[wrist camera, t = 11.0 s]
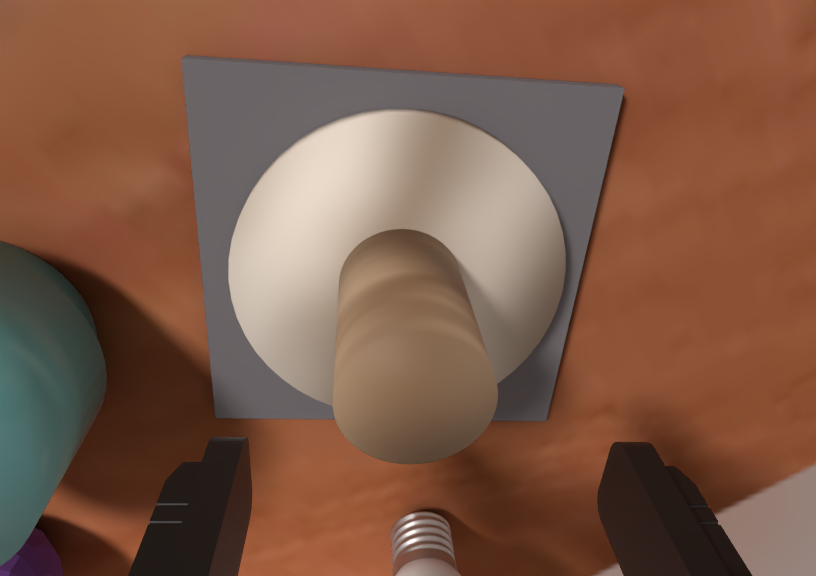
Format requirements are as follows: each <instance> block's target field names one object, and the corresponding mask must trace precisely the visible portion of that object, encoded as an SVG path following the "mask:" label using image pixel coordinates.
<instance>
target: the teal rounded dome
mask: <svg viewBox="0 0 816 576" xmlns="http://www.w3.org/2000/svg"><path fill="white" fill-rule="evenodd" d="M106 385H107V373H106V364H105V360H104V356H103V352H102V349H101V346H100V344H99V342H98V339H97V330H96V326H95V323H94V319H93V317H92V314H91V312H90V310H89V307H88V306H87V304H86V302H85V301H84V299H83V298H82V296H81V295H80V293H79V292H78V291H77V290H76V288H75V287H74V286H73V285H72V284H71V283H70V282H69V281H68V280H67V279H66V278H65V277H64V276H63V275H62V274H61V273H60V272H58V271H57V270H56V269H55V268H54V267H52V266H51V265H49V264H48V263H46V262H45V261H43V260H42V259H40V258H39V257H37V256H35V255H33V254H31V253H29V252H28V251H26V250H23V249H21V248H19V247H16V246H14V245H11V244H8V243H5V242H2V241H0V566H1V565H3V564H4V563H5V562H7V561H8V560H10V559H11V558H12V557H13V556H14V555H15V554H16V553H17V552H18V551H19V550H20V549H21V548H22V546H23V545H24V543H25V542H26V540H27V539H28V538H29V536H30V534H31V533H32V531H33V529H34V527H35V525H36V524H37V522H38V520H39V518H40V517H41V515H42V513H43V511H44V510H45V508H46V506H47V504H48V503H49V501H50V499H51V497H52V495H53V494H54V492H55V490H56V488H57V487H58V485H59V483H60V481H61V480H62V478H63V476H64V474H65V472H66V471H67V469H68V467H69V465H70V464H71V462H72V460H73V458H74V457H75V455H76V453H77V451H78V449H79V448H80V446H81V444H82V442H83V441H84V439H85V437H86V435H87V434H88V432H89V430H90V428H91V426H92V425H93V423H94V421H95V419H96V418H97V416H98V414H99V411H100V409H101V407H102V405H103V402H104V398H105V393H106Z"/></svg>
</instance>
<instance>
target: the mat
mask: <svg viewBox="0 0 816 576" xmlns="http://www.w3.org/2000/svg"><path fill="white" fill-rule="evenodd" d="M181 59H182V70H183V80H184V91H185V102H186V112H187V123H188V133H189V144H190V155H191V165H192V176H193V186H194V197H195V208H196V218H197V229H198V240H199V250H200V261H201V271H202V282H203V293H204V303H205V314H206V324H207V335H208V346H209V356H210V367H211V377H212V388H213V399H214V409H215V418H249V419H335V416H334V412H333V406H331V405H328V404H326V403H323V402H321V401H318V400H316V399H314V398H312V397H310V396H308V395H306V394H304V393H302V392H301V391H299V390H297V389H296V388H294V387H293V386H291V385H290V384H289V383H287V382H286V381H284V380H283V379H282V378H281V377H279V376H278V375H277V374H276V373H275V372H274V371H273V370H272V369H271V368H269V367H268V366H267V364H266V363H265V362H264V361H263V360H262V359H261V357H260V356H259V355H258V354H257V353H256V352H255V350H254V348H253V347H252V345H251V344H250V342H249V341H248V339H247V338H246V336H245V334H244V332H243V330H242V328H241V326H240V324H239V321H238V319H237V317H236V313H235V310H234V307H233V303H232V300H231V294H230V287H229V280H228V270H229V254H230V247H231V241H232V237H233V234H234V231H235V227H236V224H237V221H238V218H239V216H240V214H241V212H242V209H243V207H244V205H245V203H246V201H247V199H248V197H249V195H250V193H251V191H252V189H253V187H254V186H255V184H256V183H257V181H258V180H259V178H260V177H261V176H262V174H263V173H264V171H265V170H266V169H267V168H268V167H269V166H270V165H271V163H272V162H273V161H274V160H275V159H276V158H277V157H278V156H279V155H280V154H281V153H282V152H283V151H285V150H286V149H287V148H288V147H289V146H291V145H292V144H293V143H294V142H296V141H297V140H298V139H300V138H301V137H303V136H305V135H306V134H308V133H310V132H311V131H313V130H315V129H316V128H318V127H320V126H322V125H325V124H327V123H329V122H332V121H334V120H336V119H339V118H342V117H345V116H349V115H352V114H356V113H359V112H363V111H370V110H377V109H384V108H415V109H423V110H430V111H436V112H440V113H444V114H447V115H451V116H455V117H458V118H460V119H463V120H465V121H467V122H470V123H472V124H474V125H477V126H479V127H480V128H482V129H484V130H485V131H487V132H489V133H490V134H492V135H494V136H495V137H497V138H498V139H500V140H501V141H502V142H503V143H504V144H506V145H507V146H508V147H509V148H511V149H512V150H513V151H514V152H515V153H516V154H517V155H518V156H519V157H520V158H521V159H522V161H523V162H524V163H525V164H526V165H527V166H528V167H529V168H530V170H531V171H532V172H533V173H534V174H535V176H536V177H537V178H538V180H539V181H540V183H541V184H542V186H543V187H544V189H545V190H546V192H547V193H548V195H549V197H550V199H551V201H552V203H553V206H554V208H555V210H556V212H557V214H558V218H559V221H560V225H561V228H562V231H563V237H564V244H565V251H566V272H565V278H564V285H563V291H562V294H561V298H560V301H559V304H558V308H557V310H556V313H555V315H554V317H553V319H552V322H551V324H550V326H549V328H548V329H547V331H546V333H545V334H544V336H543V337H542V339H541V341H540V342H539V344H538V345H537V346H536V347H535V349H534V350H533V351H532V352H531V354H530V355H529V356H528V357H527V358H526V359H525V360H524V361H523V362H522V363H521V364H520V365H519V366H518V367H517V368H516V369H515V370H514V371H513V372H512V373H511V374H509V375H508V376H507V377H505V378H504V379H503V380H502V381H500V382H499V383H498V384H497V387H498V401H497V406H496V410H495V413H494V416H493V418H492V420H491V421H546V420H547V415H548V411H549V407H550V403H551V398H552V394H553V390H554V386H555V382H556V377H557V373H558V369H559V365H560V360H561V356H562V352H563V348H564V343H565V339H566V335H567V331H568V326H569V322H570V318H571V314H572V309H573V305H574V301H575V297H576V293H577V288H578V284H579V280H580V276H581V271H582V267H583V263H584V259H585V254H586V250H587V246H588V242H589V237H590V233H591V229H592V225H593V221H594V216H595V212H596V208H597V204H598V199H599V195H600V191H601V187H602V182H603V178H604V174H605V170H606V165H607V161H608V157H609V153H610V148H611V144H612V140H613V136H614V132H615V127H616V123H617V119H618V115H619V110H620V106H621V102H622V98H623V93H624V89H625V88H623V87H621V86H619V85H616V84H601V83H586V82H572V81H557V80H543V79H528V78H513V77H499V76H484V75H469V74H455V73H440V72H426V71H411V70H396V69H382V68H367V67H352V66H338V65H323V64H309V63H294V62H279V61H265V60H250V59H235V58H221V57H206V56H191V55H186V56H184V57H183V58H181Z"/></svg>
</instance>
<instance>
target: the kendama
mask: <svg viewBox="0 0 816 576" xmlns="http://www.w3.org/2000/svg"><path fill="white" fill-rule="evenodd" d="M63 575H64V574H63V569H62V565H61V560H60V558H59V556H58V554H57V553H56V551H55V549H54V547H53V546H52V544H51V543H50V541H49V540H48V538H47V537H46V536H45V534H44V533H43V531H41V530H39V529H37V528H34V529H33V531H32V533H31V534H30V536H29V538H28V539H27V540H26V542H25V543H24V545H23V546H22V548H21V549H20V550H19V551H18V552H17V553H16V554H15V555H14V556H13V557H12V558H11V559H10V560H8V561H7V562H5V563H4V564H3V565H1V566H0V576H63Z"/></svg>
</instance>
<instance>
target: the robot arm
mask: <svg viewBox="0 0 816 576" xmlns="http://www.w3.org/2000/svg"><path fill="white" fill-rule="evenodd" d="M597 503H598V512H599V516H600V519H601V522H602V525H603V527H604V529H605V532H606V534H607V537H608V539H609V541H610V544H611V546H612V549H613V551H614V553H615V556H616V558H617V561H618V563H619V565H620V568H621V570H622V573H623V575H624V576H752V575H751V573H750V571H749V570H748V568H747V567H746V565H745V563H744V562H743V560H742V559H741V557H740V555H739V554H738V552H737V551H736V549H735V547H734V546H733V544H732V543H731V541H730V539H729V538H728V536H727V535H726V533H725V531H724V530H723V528H722V527H721V525H718V520H717V519H716V517H715V515H714V514H713V512H712V511H711V509H710V508H708V507H707V505H708V504H707V503H706V501H705V499H704V498H703V496H702V495H701V493H700V491H699V490H698V488H697V487H696V485H695V484H694V483H693V482H692V481H691V480H690V479H689V478H687V477H686V476H685V475H684V474H683V473H682V472H681V471H679V470H678V469H677V468H676V467H675V466H665V465H664V463H663V461H662V460H661V458H660V456H659V455H658V453H657V451H656V449H655V448H654V446H653V445H652V444H650V443H648V442H615V443H613V444H612V446H611V449H610V452H609V455H608V459H607V462H606V466H605V469H604V473H603V476H602V479H601V483H600V486H599V490H598V497H597ZM251 506H252V481H251V468H250V455H249V443H248V438H247V437H211V438H210V440H209V443H208V445H207V448H206V451H205V454H204V457H203V460H202V462H183V463H182V464H181V465H180V466H179V467H178V468H177V469H176V470H175V471H174V472H173V473H172V474H171V475H170V476H169V478H168V479H167V480H166V481H165V483H164V486H163V488H162V491H161V494H160V496H159V499H158V501H157V507H155V509H154V511H153V514H152V516H151V519H150V524H149V525H148V527H147V529H146V532H145V534H144V537H143V539H142V542H141V544H140V547H139V550H138V552H137V555H136V557H135V560H134V562H133V565H132V567H131V570H130V572H129V575H128V576H238V572H239V567H240V562H241V558H242V553H243V548H244V544H245V539H246V534H247V530H248V525H249V520H250V515H251Z"/></svg>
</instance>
